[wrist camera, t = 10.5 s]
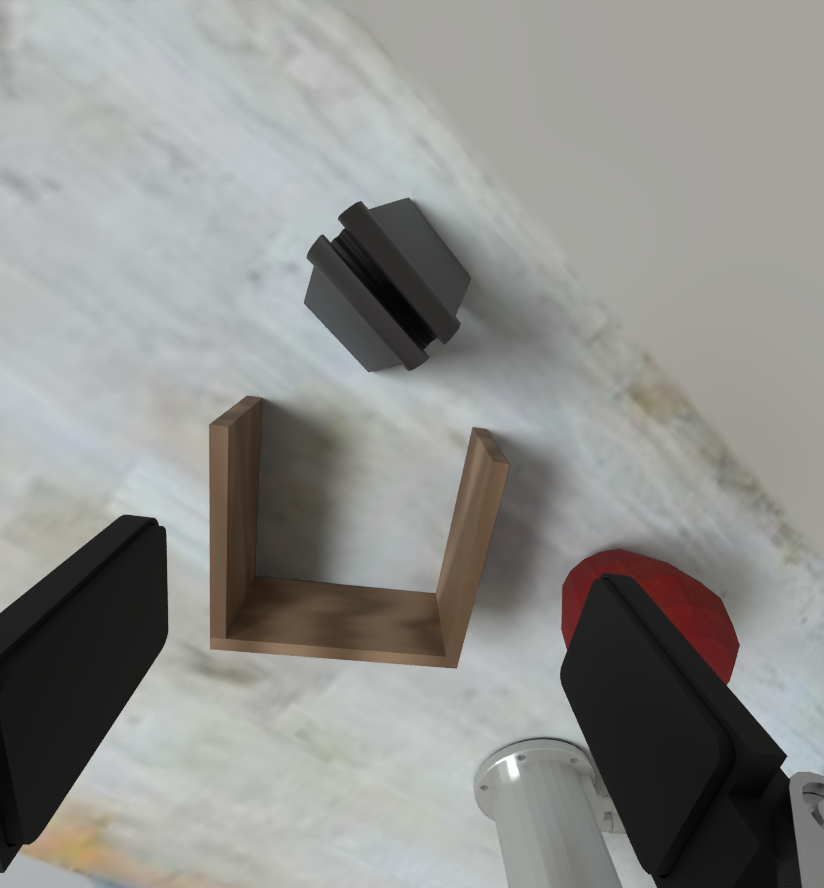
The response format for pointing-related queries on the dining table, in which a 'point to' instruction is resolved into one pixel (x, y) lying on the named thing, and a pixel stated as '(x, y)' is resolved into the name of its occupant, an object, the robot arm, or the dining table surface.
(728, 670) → the apple
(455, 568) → the open box
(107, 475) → the dining table surface
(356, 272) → the phone stand
